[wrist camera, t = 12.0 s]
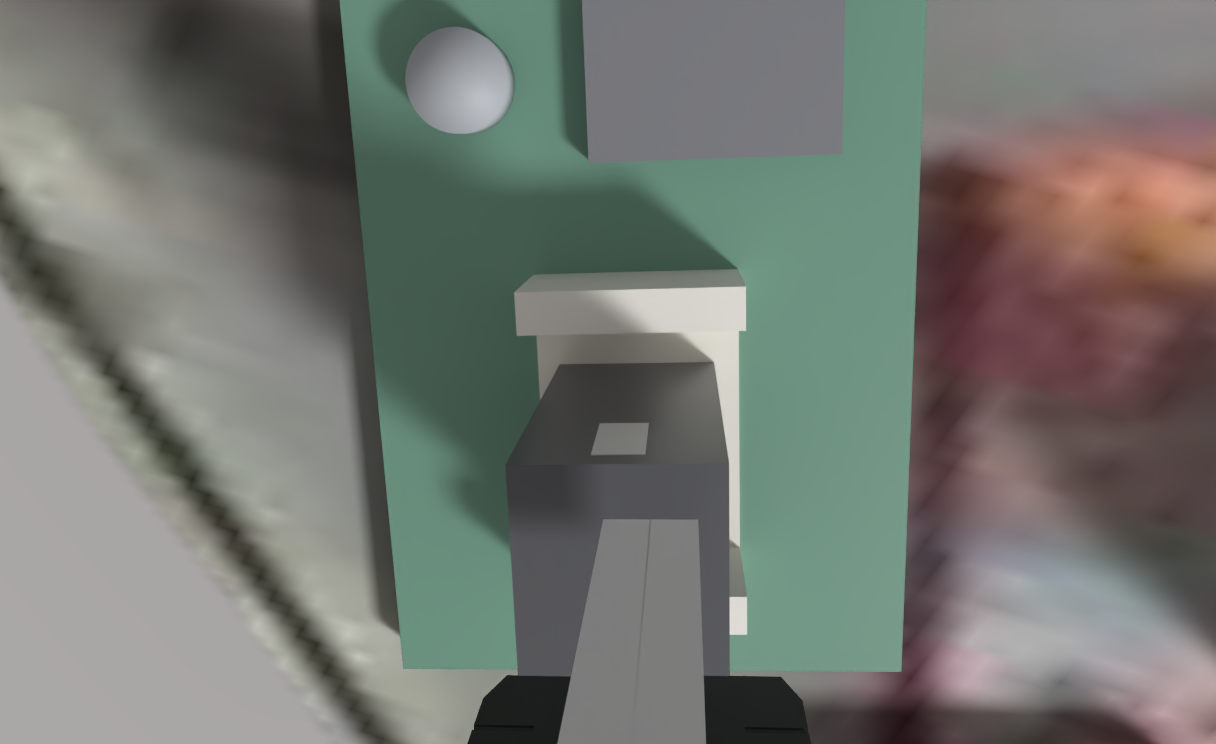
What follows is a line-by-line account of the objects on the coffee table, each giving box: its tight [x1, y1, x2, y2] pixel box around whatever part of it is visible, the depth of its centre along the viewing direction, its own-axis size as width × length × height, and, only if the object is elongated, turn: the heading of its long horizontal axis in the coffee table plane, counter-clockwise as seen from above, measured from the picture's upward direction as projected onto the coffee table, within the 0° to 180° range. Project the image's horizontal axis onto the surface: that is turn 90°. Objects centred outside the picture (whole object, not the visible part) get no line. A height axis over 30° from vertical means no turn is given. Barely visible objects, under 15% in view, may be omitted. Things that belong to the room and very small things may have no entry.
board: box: [339, 0, 927, 672], centre depth 24 cm, size 20×14×4 cm
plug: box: [505, 362, 730, 676], centre depth 22 cm, size 5×4×8 cm
